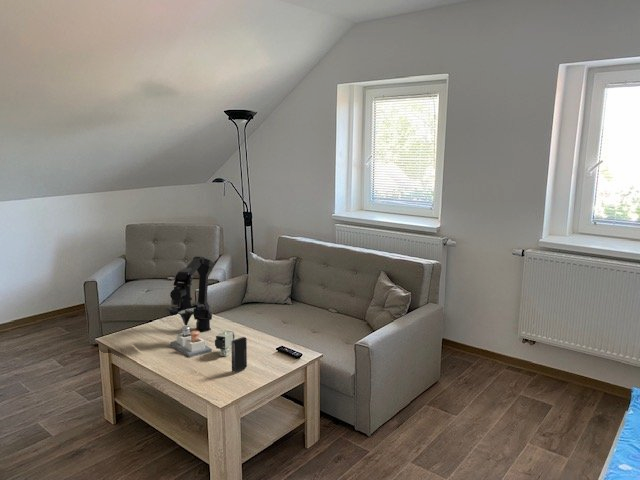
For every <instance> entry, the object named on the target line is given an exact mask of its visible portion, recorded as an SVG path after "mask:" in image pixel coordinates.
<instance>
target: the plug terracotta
mask: <svg viewBox="0 0 640 480" xmlns="http://www.w3.org/2000/svg"><path fill="white" fill-rule="evenodd" d="M200 333H201V332H200V331H198V330H190V335H191V342H192V343H195V342H199V338H200V337H199V335H200Z"/></svg>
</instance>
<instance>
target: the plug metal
mask: <svg viewBox="0 0 640 480" xmlns="http://www.w3.org/2000/svg"><path fill="white" fill-rule="evenodd" d="M180 328H181V330H182V331H181V334H182V336H183V337H188V336H190V332H191V330H190V329H191V325H183V326H181V327H180Z"/></svg>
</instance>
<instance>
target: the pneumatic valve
mask: <svg viewBox="0 0 640 480" xmlns="http://www.w3.org/2000/svg"><path fill="white" fill-rule="evenodd" d="M235 337H236V336H235V334H234V331H231V330H223V331H222V332H219V333H218V334H216V335H215V339H214V346H215V348H216V349H218V350H219V351H220V357H225V358H226V357H228V356H229V355H230V354H231V353H230V350H231V349H230V347H231V342H232V340H235V339H236V338H235Z"/></svg>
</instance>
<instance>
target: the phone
mask: <svg viewBox="0 0 640 480" xmlns="http://www.w3.org/2000/svg"><path fill="white" fill-rule="evenodd" d="M247 341H248V339H247V337H246V336H241V337H237V338H234V340H232V342H231V346H230V347H231V371H232V372H233V373H237V372H240V371H242V370H246V369H247V366H248V363H247V362H248V361H247V360H248V356H247V355H248V354H247V353H248V351H247V348H248V347H247V345H248V344H247Z"/></svg>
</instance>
